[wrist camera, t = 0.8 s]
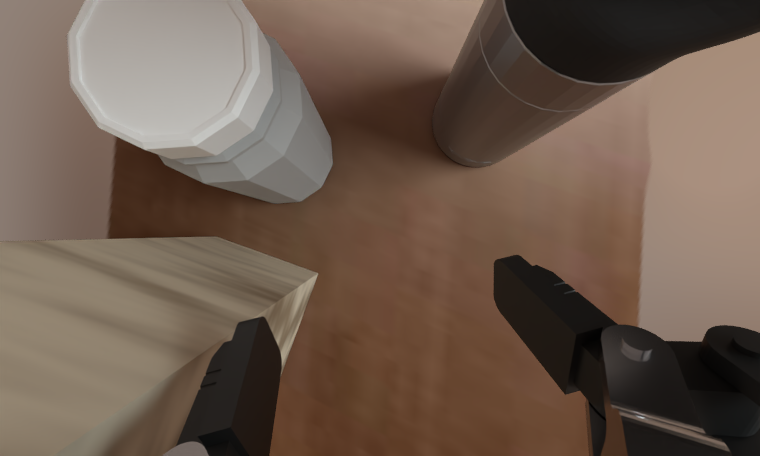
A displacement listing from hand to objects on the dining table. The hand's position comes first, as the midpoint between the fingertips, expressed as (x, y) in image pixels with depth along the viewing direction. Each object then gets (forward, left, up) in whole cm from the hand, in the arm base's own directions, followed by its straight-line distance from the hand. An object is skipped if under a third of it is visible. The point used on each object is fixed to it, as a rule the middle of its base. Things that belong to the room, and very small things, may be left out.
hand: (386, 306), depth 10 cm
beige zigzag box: (+15, -11, -20) cm, 27 cm away
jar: (-6, -12, -21) cm, 25 cm away
